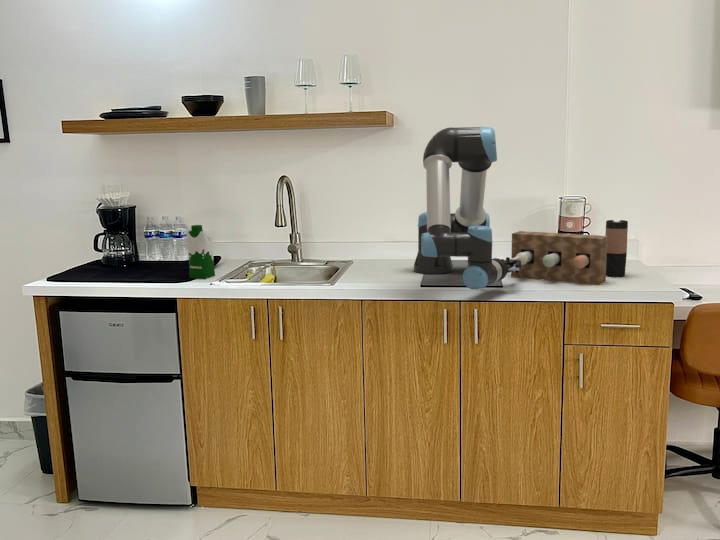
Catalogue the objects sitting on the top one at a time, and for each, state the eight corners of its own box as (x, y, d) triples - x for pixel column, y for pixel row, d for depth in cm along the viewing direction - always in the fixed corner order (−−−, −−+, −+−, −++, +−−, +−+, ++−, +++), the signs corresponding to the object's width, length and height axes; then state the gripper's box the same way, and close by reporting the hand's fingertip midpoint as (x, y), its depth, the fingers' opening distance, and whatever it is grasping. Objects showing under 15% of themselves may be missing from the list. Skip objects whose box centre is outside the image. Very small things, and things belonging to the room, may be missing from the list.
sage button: (542, 266, 258) (542, 254, 257) (549, 263, 264) (549, 251, 263) (554, 267, 255) (555, 255, 255) (561, 264, 261) (561, 252, 260)
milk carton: (186, 278, 280) (183, 226, 276) (198, 274, 288) (195, 223, 285) (206, 279, 277) (203, 226, 273) (218, 275, 285) (215, 223, 282)
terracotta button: (573, 267, 255) (573, 255, 254) (579, 264, 260) (579, 252, 260) (586, 268, 252) (586, 256, 252) (592, 265, 258) (592, 253, 257)
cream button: (515, 264, 263) (515, 252, 262) (522, 261, 269) (522, 249, 268) (527, 265, 261) (527, 253, 260) (533, 262, 267) (534, 250, 266)
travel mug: (614, 278, 265) (617, 222, 262) (599, 274, 272) (601, 220, 268) (630, 275, 269) (632, 221, 265) (614, 272, 275) (616, 219, 272)
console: (511, 276, 271) (511, 233, 268) (519, 273, 278) (520, 231, 275) (599, 284, 254) (601, 238, 251) (605, 280, 260) (607, 235, 258)
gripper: (473, 280, 244) (501, 269, 264) (510, 284, 237) (536, 272, 257) (473, 258, 243) (501, 248, 262) (511, 261, 236) (537, 251, 255)
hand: (519, 260), depth 259 cm, fingers closed
